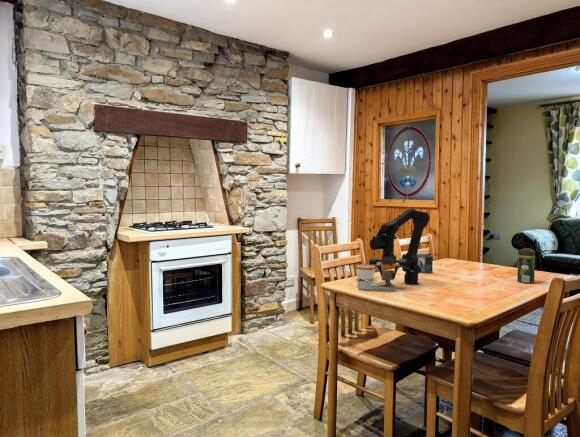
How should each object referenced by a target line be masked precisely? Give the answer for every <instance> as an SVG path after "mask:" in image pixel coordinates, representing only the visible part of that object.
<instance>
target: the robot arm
mask: <svg viewBox="0 0 580 437" xmlns="http://www.w3.org/2000/svg"><path fill="white" fill-rule="evenodd" d="M430 218H431V217H430V214H429V212H426V211H419V210H417V209H415V208H408V209H406V210H405V211H404V212H402V213H401V214H400V215H398V216H397V217H396V218H394V219H392V220H391V221H387V222H384V223H382V224H381V225H380V228H379V230H378V233H377V234H376V236H375V235H374V236H372V238H371V240H370V242H369V247H370V249H371V250H372V251H377V250H382V256H381V259H379V257H370V258H369V260H368V261H369V262H368V265H373V266H375V267H377V269H378V271H379V274H380V276H381V278H382V271H383V266H392V265H394V270H393V271H394V279H395V278H396V275H397V272H398V270H399V268H401V269H402V272H404V275H403V276H404V277H403V283H405V285H415V286H416V285H419V284H420V283H419V274H422V273H421V270H422V269H421V268H420V266H419V265H418V257H417V254H418V251H419V248H420V243H421V239H422V236H423V232H424V231H423V230H424V229H425V228H426V227H427V226H428V225H429V222H430ZM410 220H411V221H412V225H413V226H412V227H413V229H412V234H411V237H410V240H409V245H408V248H407V252H406V253H404V254H402V256H401V258H399V259H397V255H396V254H395V240H398V237H397V236H396V234H397V233H398V231H399V229H400V227H401V226H403V225H405V224H406V223H407V222H408V221H410Z"/></svg>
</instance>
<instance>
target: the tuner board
mask: <svg viewBox="0 0 580 437" xmlns="http://www.w3.org/2000/svg"><path fill="white" fill-rule="evenodd" d="M392 282H393V281H390V283H391V284H392V285H391V286H386V285H377V286H370V284H381V283H385V281H372V280H370V281H362V280H359V281H356V283H358V284H357V287H359V288H358V291H359V290H364V291H363V292H366V291H367V292H394V293H395V292H397V288H396V287H395V286H394V284H393V283H392Z"/></svg>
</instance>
